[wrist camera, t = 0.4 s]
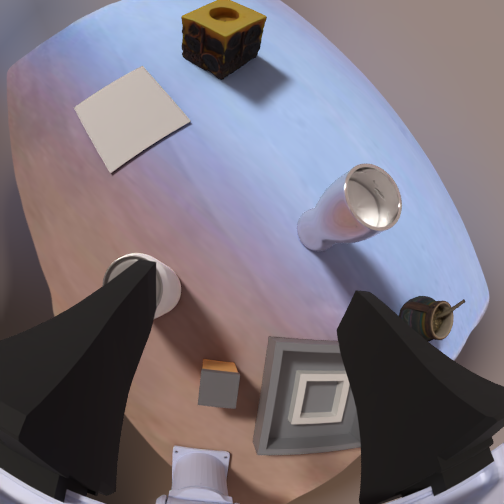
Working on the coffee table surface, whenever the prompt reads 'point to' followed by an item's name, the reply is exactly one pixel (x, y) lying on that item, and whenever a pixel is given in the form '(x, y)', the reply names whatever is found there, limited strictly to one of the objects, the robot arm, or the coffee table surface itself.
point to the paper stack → (129, 117)
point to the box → (305, 400)
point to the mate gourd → (429, 317)
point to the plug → (218, 384)
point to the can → (165, 281)
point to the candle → (222, 36)
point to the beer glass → (351, 209)
